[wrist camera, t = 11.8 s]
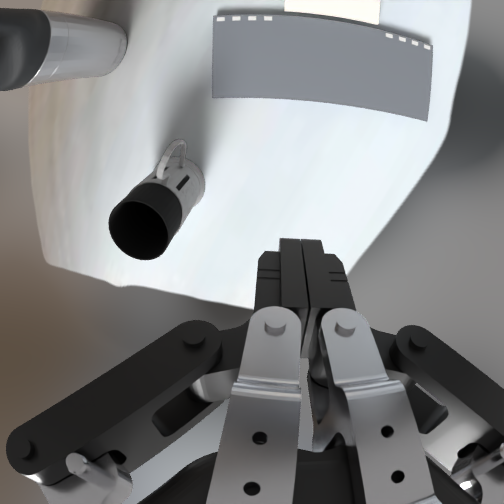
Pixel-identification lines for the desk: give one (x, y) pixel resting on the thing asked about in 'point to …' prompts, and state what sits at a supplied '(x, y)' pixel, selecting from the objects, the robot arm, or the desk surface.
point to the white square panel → (338, 8)
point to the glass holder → (157, 206)
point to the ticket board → (320, 63)
